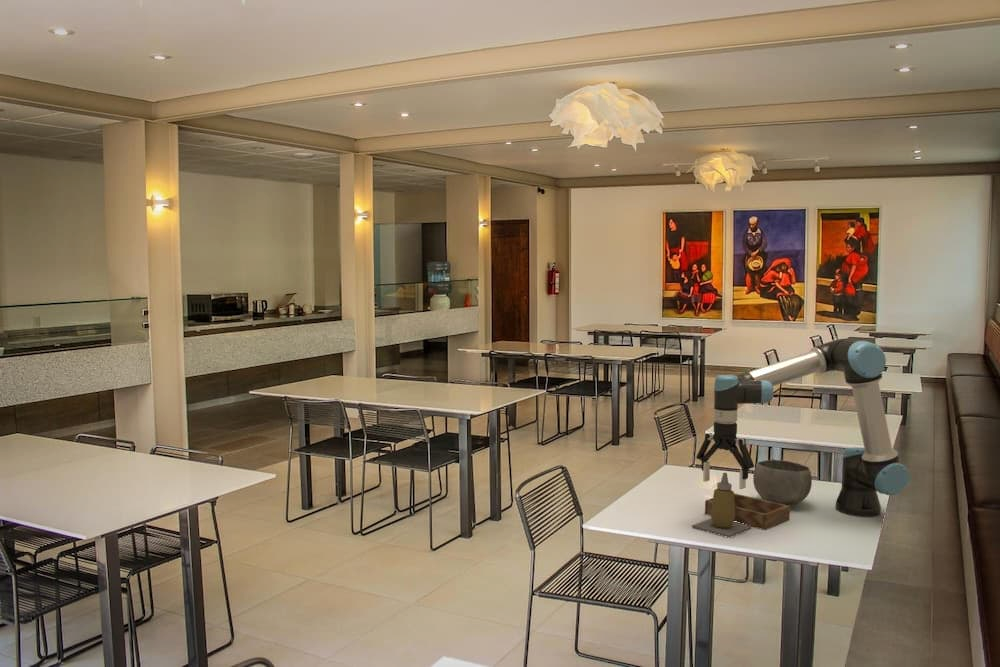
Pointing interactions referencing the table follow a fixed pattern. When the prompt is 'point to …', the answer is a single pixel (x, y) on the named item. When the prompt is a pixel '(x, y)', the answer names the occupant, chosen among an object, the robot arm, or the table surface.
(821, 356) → the robot arm
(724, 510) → the squeeze bottle
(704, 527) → the charcoal mat
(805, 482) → the bowl
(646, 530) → the table surface
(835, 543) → the table surface
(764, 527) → the tray
